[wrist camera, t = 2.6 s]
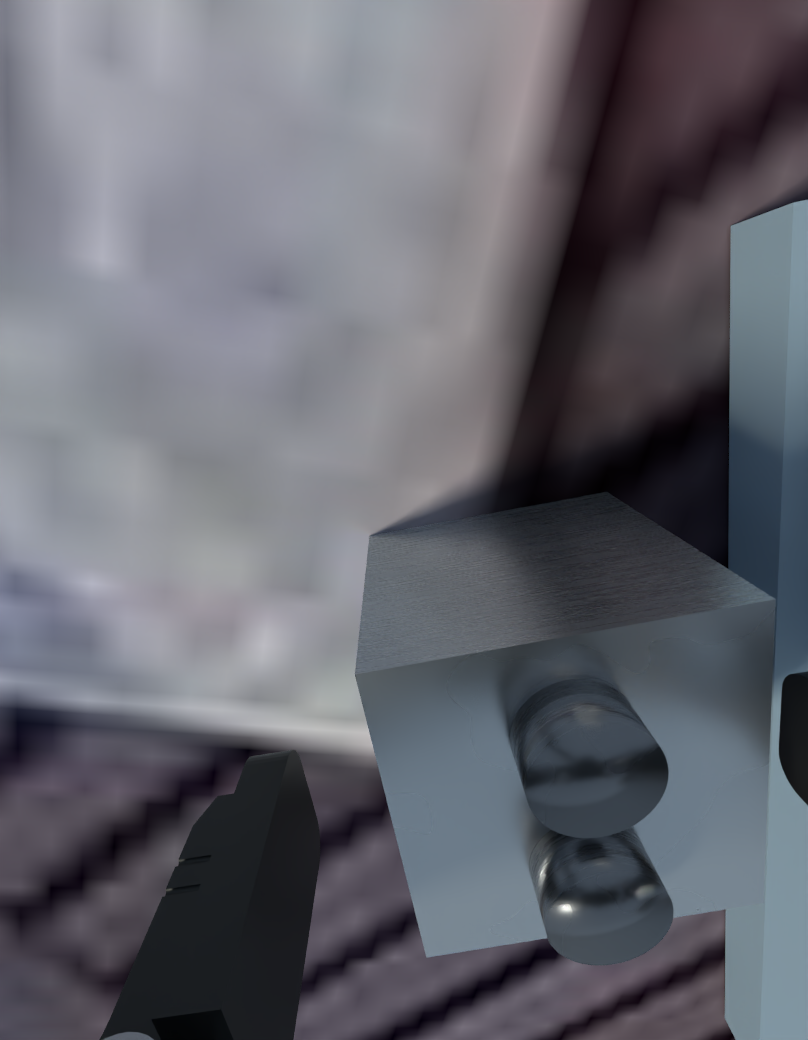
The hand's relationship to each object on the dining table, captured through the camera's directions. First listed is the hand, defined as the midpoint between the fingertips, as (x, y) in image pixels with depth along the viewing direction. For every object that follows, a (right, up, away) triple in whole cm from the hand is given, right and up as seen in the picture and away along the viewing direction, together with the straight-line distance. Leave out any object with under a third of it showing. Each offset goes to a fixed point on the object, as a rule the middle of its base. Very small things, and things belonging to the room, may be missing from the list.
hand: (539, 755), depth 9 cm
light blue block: (0, +2, +3) cm, 3 cm away
